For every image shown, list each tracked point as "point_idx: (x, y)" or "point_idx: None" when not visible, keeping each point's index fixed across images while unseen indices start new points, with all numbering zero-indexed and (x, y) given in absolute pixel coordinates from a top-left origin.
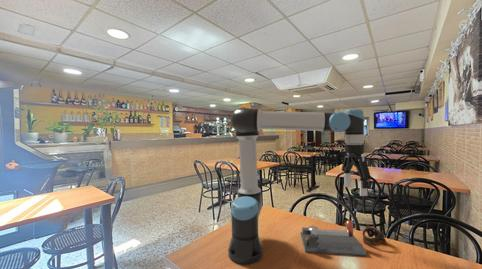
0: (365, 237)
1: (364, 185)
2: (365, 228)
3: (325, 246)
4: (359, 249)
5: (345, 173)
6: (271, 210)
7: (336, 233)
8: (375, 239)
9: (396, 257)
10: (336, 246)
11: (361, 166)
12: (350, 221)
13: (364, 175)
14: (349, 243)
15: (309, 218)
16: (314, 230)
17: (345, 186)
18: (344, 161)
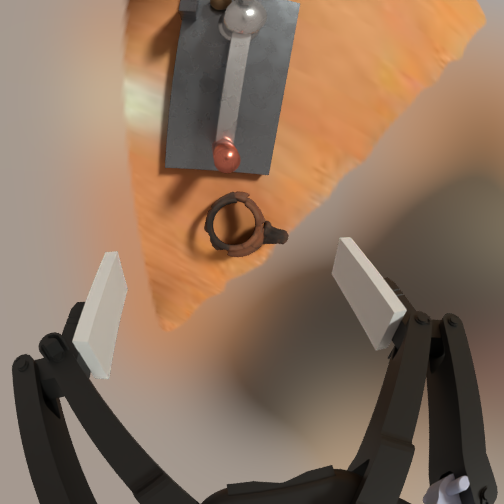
0: (227, 198)
1: (69, 324)
2: (259, 220)
3: (192, 49)
4: (175, 152)
5: (396, 317)
6: (465, 16)
7: (221, 96)
8: (207, 220)
9: (167, 237)
10: (192, 85)
11: (35, 477)
12: (227, 163)
13: (16, 391)
14: (210, 135)
15: (412, 98)
16: (225, 12)
17: (340, 241)
18: (467, 413)
